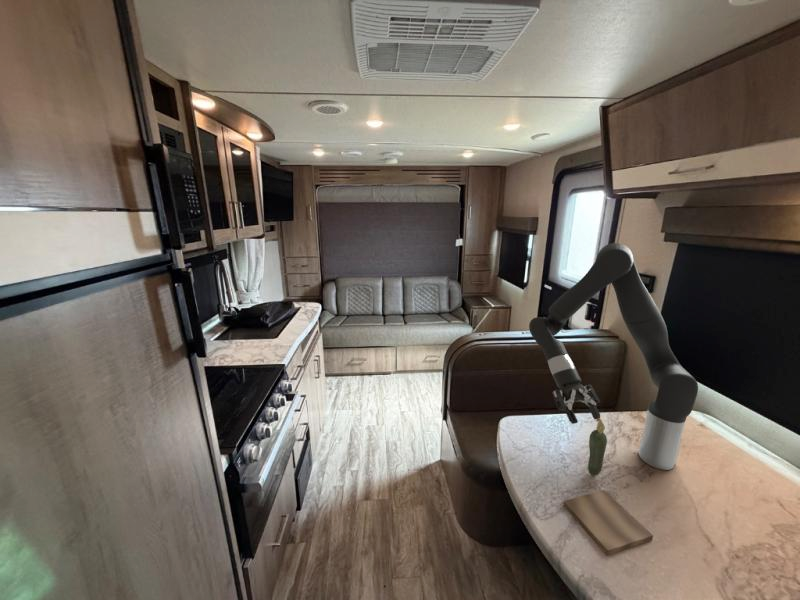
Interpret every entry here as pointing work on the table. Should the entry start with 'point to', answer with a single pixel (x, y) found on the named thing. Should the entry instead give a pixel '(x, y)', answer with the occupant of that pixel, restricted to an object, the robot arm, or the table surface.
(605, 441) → the vegetable
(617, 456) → the table surface
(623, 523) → the cutting board
